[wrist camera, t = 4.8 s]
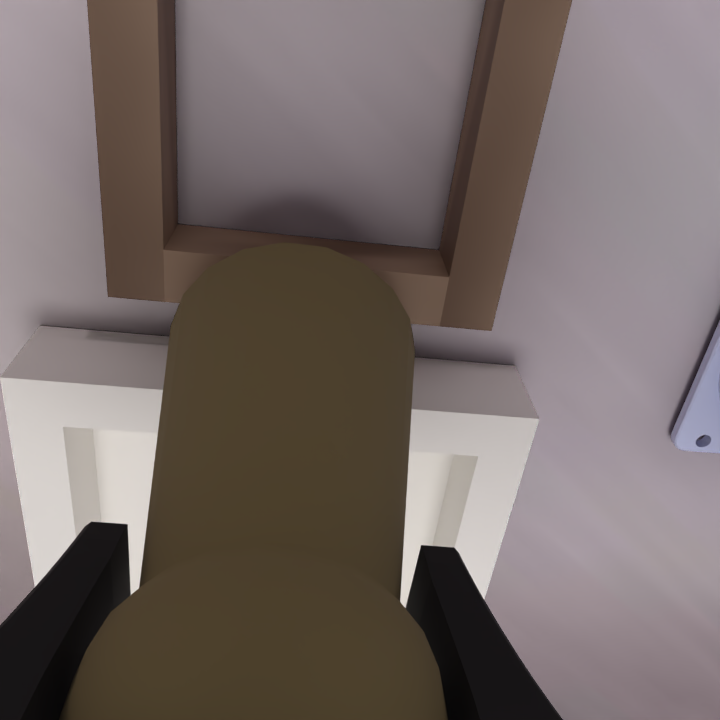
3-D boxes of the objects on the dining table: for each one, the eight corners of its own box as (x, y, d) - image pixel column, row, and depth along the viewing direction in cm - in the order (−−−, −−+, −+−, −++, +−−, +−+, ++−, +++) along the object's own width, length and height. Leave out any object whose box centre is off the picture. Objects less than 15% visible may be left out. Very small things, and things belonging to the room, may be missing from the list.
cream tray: (514, 365, 23) (539, 419, 20) (443, 629, 29) (455, 695, 26) (39, 325, 21) (-1, 377, 19) (76, 612, 28) (50, 680, 25)
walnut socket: (571, -112, 16) (601, -120, 14) (478, 300, 21) (491, 330, 20) (102, -184, 15) (72, -202, 13) (126, 267, 20) (107, 296, 19)
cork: (122, 289, 16) (-158, 820, 7) (371, 206, 15) (426, 695, 6) (233, 469, 19) (141, 989, 10) (442, 411, 18) (548, 928, 9)
